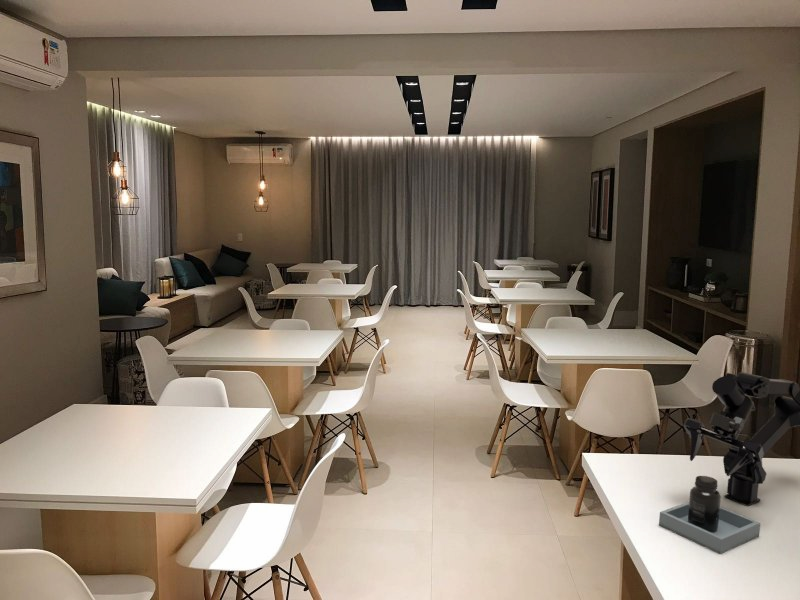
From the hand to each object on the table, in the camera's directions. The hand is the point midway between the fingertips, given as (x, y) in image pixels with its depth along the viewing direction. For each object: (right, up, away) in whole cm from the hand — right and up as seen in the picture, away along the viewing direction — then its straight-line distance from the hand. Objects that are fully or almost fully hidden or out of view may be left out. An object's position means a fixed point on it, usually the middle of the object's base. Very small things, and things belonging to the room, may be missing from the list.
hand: (708, 467), depth 170 cm
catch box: (-3, -14, -7) cm, 16 cm away
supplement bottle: (-4, -13, -6) cm, 15 cm away
